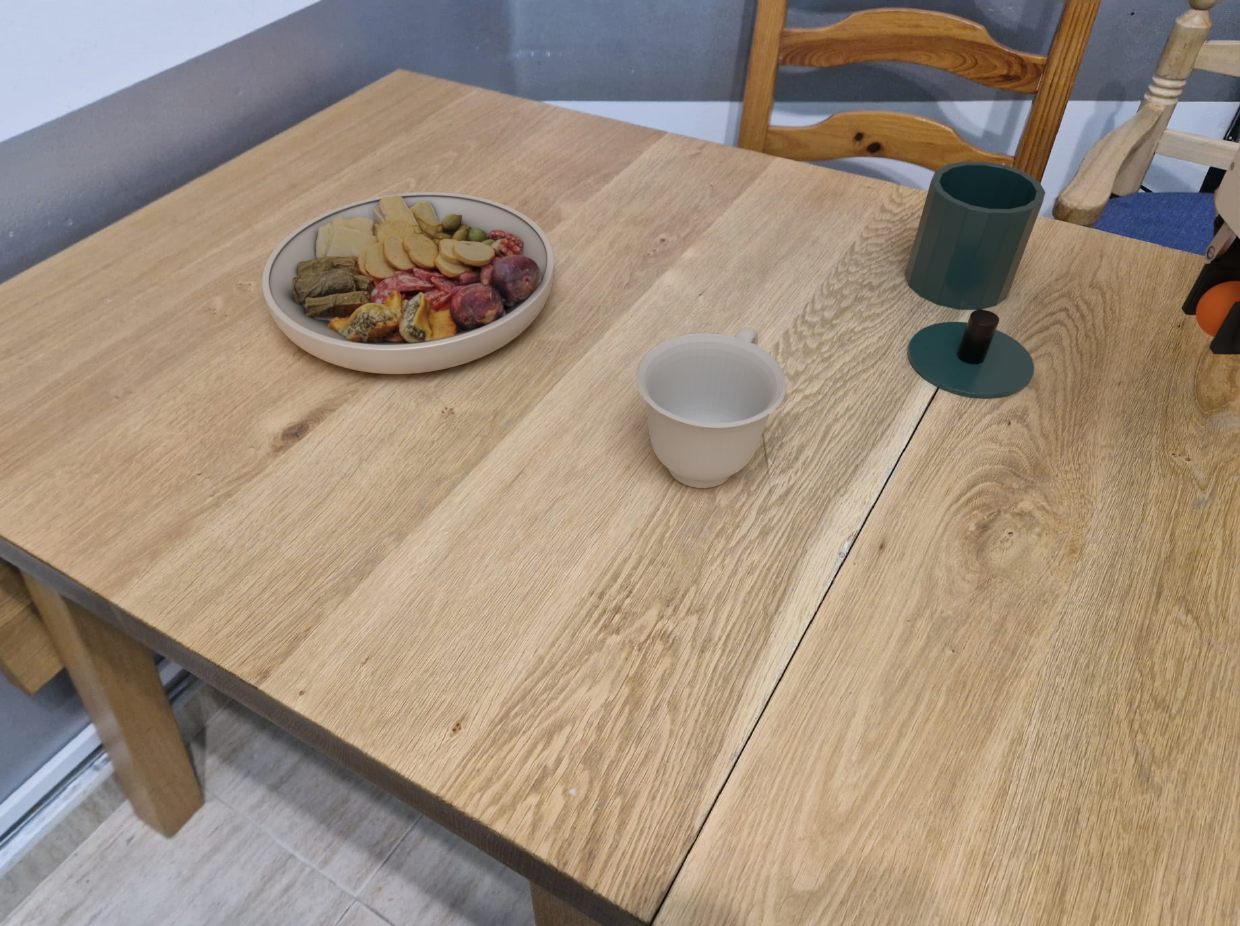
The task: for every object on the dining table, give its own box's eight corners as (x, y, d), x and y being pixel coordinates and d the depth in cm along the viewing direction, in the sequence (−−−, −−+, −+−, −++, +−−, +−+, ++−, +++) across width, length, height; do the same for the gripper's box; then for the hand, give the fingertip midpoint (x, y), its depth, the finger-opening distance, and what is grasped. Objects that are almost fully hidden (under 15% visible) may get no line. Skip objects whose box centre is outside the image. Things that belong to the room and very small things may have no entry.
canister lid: (1011, 331, 95) (1030, 284, 91) (1045, 405, 87) (1067, 356, 83) (895, 329, 96) (909, 281, 92) (919, 402, 88) (935, 353, 84)
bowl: (216, 358, 94) (193, 291, 89) (356, 214, 114) (344, 152, 108) (493, 417, 87) (486, 348, 82) (591, 253, 107) (591, 188, 101)
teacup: (801, 430, 86) (821, 340, 78) (736, 535, 77) (751, 444, 70) (682, 388, 90) (690, 300, 83) (607, 483, 81) (609, 393, 74)
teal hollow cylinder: (992, 260, 105) (1027, 161, 96) (1018, 315, 97) (1058, 213, 89) (896, 258, 105) (922, 160, 97) (915, 313, 98) (945, 212, 90)
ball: (1232, 317, 68) (1260, 269, 66) (1258, 351, 66) (1288, 302, 63) (1176, 317, 69) (1202, 269, 66) (1199, 350, 66) (1227, 302, 63)
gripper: (1535, 134, 48) (1332, 408, 61) (1358, 16, 60) (1220, 268, 73) (1383, 134, 48) (1214, 407, 62) (1236, 17, 60) (1120, 268, 73)
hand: (1218, 329), depth 67 cm, fingers closed on ball, 3 cm apart
